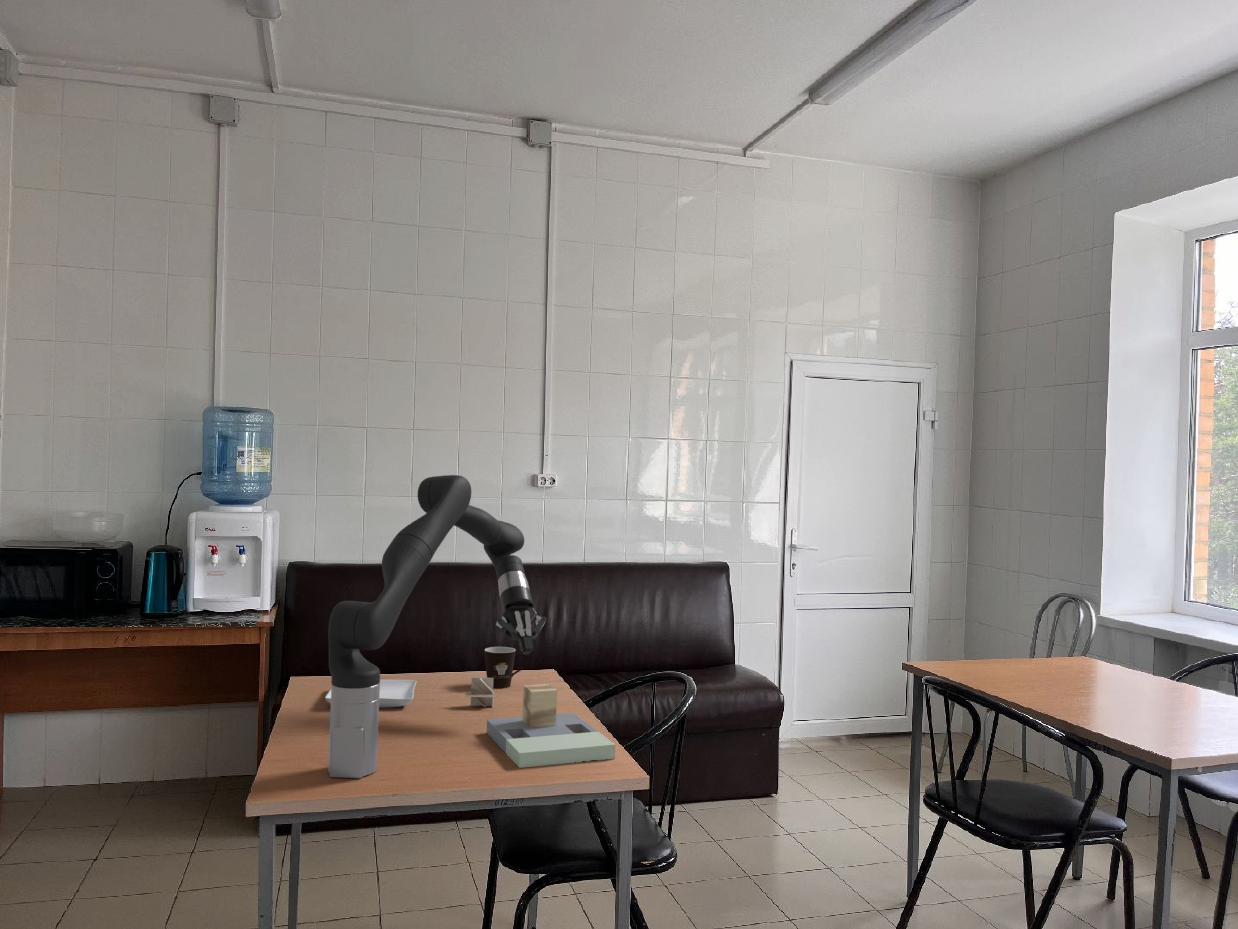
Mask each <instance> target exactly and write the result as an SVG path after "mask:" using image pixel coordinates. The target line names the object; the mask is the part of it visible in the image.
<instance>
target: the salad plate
mask: <svg viewBox="0 0 1238 929" xmlns="http://www.w3.org/2000/svg"><path fill="white" fill-rule="evenodd" d="M417 683H418V682H417V680H415V679H380V693H379V709H380V708H399V707H400V708H401V707H405V706H406V705H409V704H410V703H411V702H412V701H413V699H414V697H415V688H416V685H417ZM324 699H325V700H326V702H327V703H329V704H330V705H331V689H330V690H329V691H328V692H327V694H326V695H325V697H324Z"/></svg>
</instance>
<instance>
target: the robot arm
mask: <svg viewBox="0 0 1238 929" xmlns="http://www.w3.org/2000/svg"><path fill="white" fill-rule="evenodd" d="M471 499H472V486H471V483H470V481H469V480H468V479H467V478H466V477H464V476H462V475H458V474H457V475H456V474H451V475H449V474H448V475H436V476H435V475H434V476H430V477H426V478H424V479H423V480H422V481H421V482H420V483H419V485H418V489H417V502H418V504H419V506H420V508H421V509H422V510H423V511H424V512H425V514H423V515H422V516H420V517H419V518H417V519H416V520H414V521H412V522H410V523H409V524H408V525H406V526H405V527H403V528H402V529H401V530H399V532H398V533H397V534H396V535H395V537H393V539H392V540H391V542H390V544H389V545H388V546H387V547H386V549H385V551H384V553H383V556H382V560H381V569H382V575H383V576H382V577H383V581H384V587H383V589H382V591H381V592H380V594H379V596H378V597H377V599H376V600H374V601H373V602H368V601H358V600H357V601H356V600H343V601H340V602H338V603H337V604H336V605H334V607H333V609H332V612H330V617H329V621H328V630H327V632H328V633H327V634H328V637H327V638H328V670H329V673H330V677H331V687H330V690H331V704H330V710H329V711H330V713H329V715H330V716H329V739H328V741H329V742H328V767H327V768H328V769H327V770H328V772H327V773H328V774H329V777H330V778H346V779H347V778H349V779H362V778H363V777H365V776H369V775H371V774H372V775H373V774H374V773H375V772H377V769H378V748H379V747H378V740H379V738H378V737H379V719H380V717H379V715H380V714H379V712H380V708H379V693H380V680H381V670H380V668H379V667H378V666H377V665H375V664H374V663H372V662H370V661H369V660H367V659H366V658H365V656H363V655H362V654H361V652H360V650H363V651H374V650H377V649H380V648H381V647H382V646H383V645H384V644H385V643H386V641H387V640H388V638H389V637H390V635H391V634H392V631H393V629H394V628H395V625H396V623H397V621H398V618H399V616H400V615H401V611H402V610H403V608H404V606H405V604H406V602H407V600H408V598H409V596H410V595H411V593H412V591H413V590H414V587H415V586H416V585H417V583H418V582H419V579H420V578H421V576H422V575H423V574H424V573H425V571H426V569H427V567H428V565H429V564H430V562H431V561H432V559H433V557H434V556H435V554H436V552H437V550H438V549H439V547H440V546H441V544H442V543H443V541H444V540H445V539H446V537H447V535H448V534H449V532H450V531H451V530H452V529H453V527H457V528H458V529H460V530H462V531H464V532H465V533H466V534H469V536H472V538H474V539H475V540H477V541H478V542H479V543H481V544H482V545H483V549H484V551H485V554H486V555H487V556H488V558H489V560H490V561H491V563H492V566H493V568H494V570H495V574H496V578H497V582H498V586H497V587H498V595H499V598H500V602H501V608H502V612H503V614H502V616H501V617H498V618H497V621H496V623H495V627H496V629H498V630H499V631H500V632H501V633H502V634H504V635H505V636H506V637H507V638H508V639H509V640H511V641H514V640H516V641H517V642H518V644H519V645H518V646H519V650H520V653H522V654H525V655H530V654H531V653H532V652H533V649H534V643H533V640H536V639H537V637H538V635H539V633H540V632H541V630H542V629H543V627H544V626H545V624H546V621H547V617H546V616H545V615H543V616H540V615H538V612H537V611H536V609H535V608H534V603H533V598H532V594H531V591H530V590H531V589H530V586H529V581H528V579H527V577H526V573H525V568H524V564H523V561H522V559H521V558H520V557H519V556H518V555H513V554H514V553H517V552H519V551H520V550H522V549H523V547H524V545H525V537H524V534H523V532H522V531H521V530H520V528H518V526H516V525H515V524H512V523H509V522H506V521H502V520H498V519H496V518H495V516H493V515H492V514H491V513H489V512H488V511H486V510H484V509H481V508H479V507H476V506H474V505H470V502H471ZM534 622H535V625H536V626H535V627H534V629H533V630H532V625H533V623H534Z"/></svg>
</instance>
